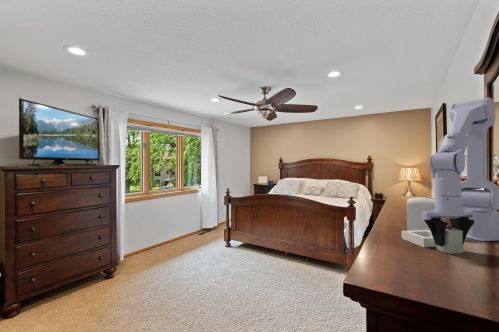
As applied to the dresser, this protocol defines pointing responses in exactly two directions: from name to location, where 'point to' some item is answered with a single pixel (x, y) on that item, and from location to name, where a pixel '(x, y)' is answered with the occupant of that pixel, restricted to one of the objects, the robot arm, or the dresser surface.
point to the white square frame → (419, 237)
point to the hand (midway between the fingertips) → (449, 244)
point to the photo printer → (418, 212)
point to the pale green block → (452, 241)
